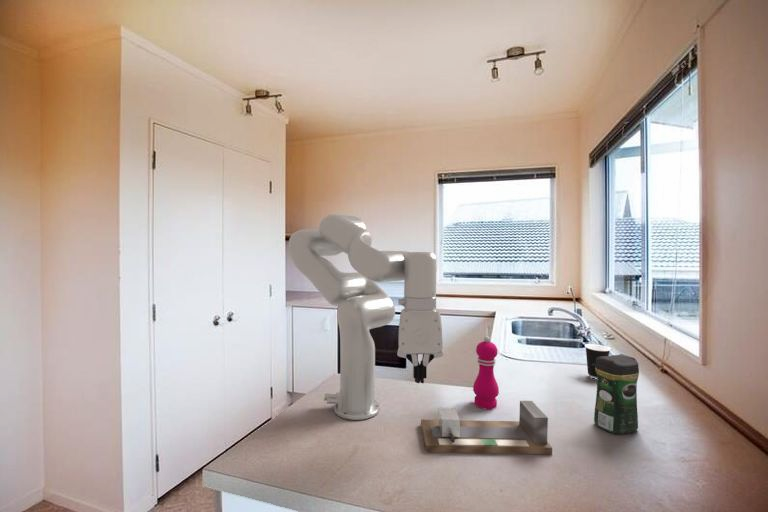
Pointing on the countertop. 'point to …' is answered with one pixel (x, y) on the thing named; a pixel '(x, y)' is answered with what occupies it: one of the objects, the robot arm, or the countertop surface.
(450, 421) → the gauge slider
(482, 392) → the pepper mill
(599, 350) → the dixie cup
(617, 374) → the coffee jar
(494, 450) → the base
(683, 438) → the countertop surface
